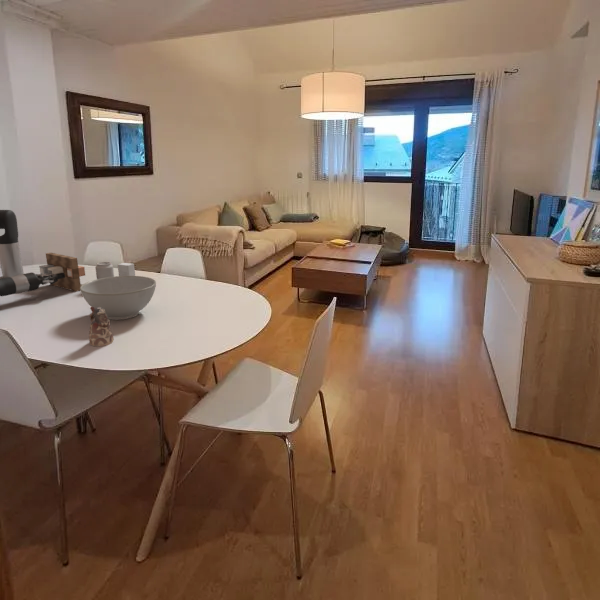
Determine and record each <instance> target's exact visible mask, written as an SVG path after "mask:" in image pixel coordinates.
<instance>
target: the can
mask: <svg viewBox="0 0 600 600" xmlns="http://www.w3.org/2000/svg"><path fill="white" fill-rule="evenodd" d="M95 276H96V280H97V279H101V278H107V277H115V271H114V265H113V264H112V262H110V261H102V262H97V263H96V266H95Z"/></svg>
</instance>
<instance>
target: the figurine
mask: <svg viewBox="0 0 600 600" xmlns="http://www.w3.org/2000/svg"><path fill="white" fill-rule="evenodd" d="M89 309H90V311H91V313H90V314H89V318H90V325H89V333H88V335H89V336H88V338H89V339H88V340H89V344H90V345H91V346H92V347H102V346H108V345H111V344H112V343H114V340H115V339H114V334H113V332H112V327H111V323H110V322H111V321H110V320H111V319H108V318H107V315H106V313H105V310H104V309H103V308H101V307H97V308H94V307H93V306H92V307H91V306H90V308H89Z"/></svg>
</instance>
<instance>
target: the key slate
mask: <svg viewBox="0 0 600 600" xmlns="http://www.w3.org/2000/svg"><path fill="white" fill-rule="evenodd" d="M51 267H54V265H52V264H48V265H47V264H42V265H39V267H38V268H39V272H40V273H39V274H49V273H48V268H51Z"/></svg>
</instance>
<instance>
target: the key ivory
mask: <svg viewBox="0 0 600 600" xmlns="http://www.w3.org/2000/svg"><path fill="white" fill-rule="evenodd" d="M48 273H50V274H58V273H63V267H61V266H56V267H51V268H48Z"/></svg>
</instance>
